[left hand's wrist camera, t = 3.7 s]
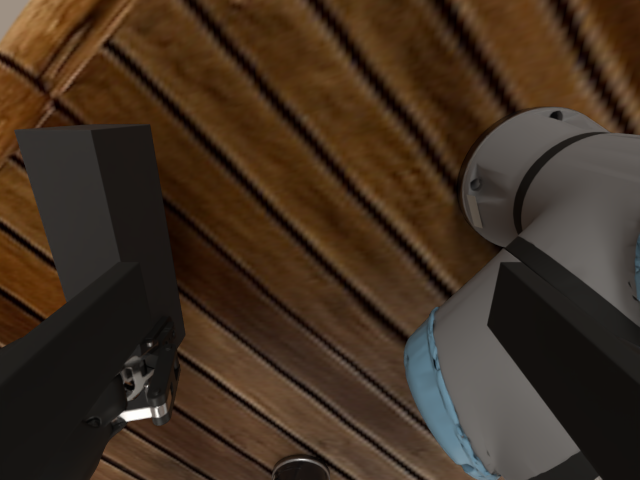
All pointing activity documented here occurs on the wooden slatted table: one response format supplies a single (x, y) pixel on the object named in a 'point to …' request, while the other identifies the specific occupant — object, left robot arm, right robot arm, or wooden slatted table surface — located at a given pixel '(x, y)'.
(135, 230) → the bar
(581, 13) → the wooden slatted table surface
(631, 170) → the left robot arm
